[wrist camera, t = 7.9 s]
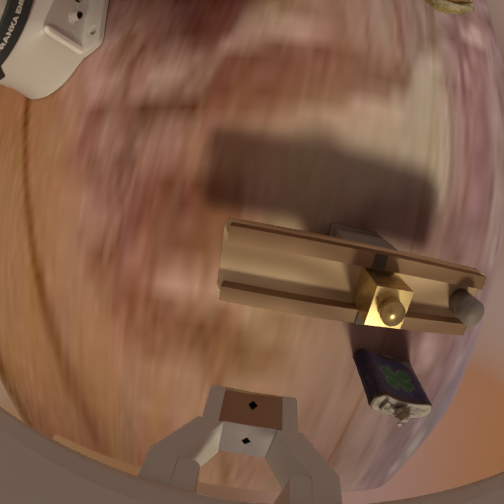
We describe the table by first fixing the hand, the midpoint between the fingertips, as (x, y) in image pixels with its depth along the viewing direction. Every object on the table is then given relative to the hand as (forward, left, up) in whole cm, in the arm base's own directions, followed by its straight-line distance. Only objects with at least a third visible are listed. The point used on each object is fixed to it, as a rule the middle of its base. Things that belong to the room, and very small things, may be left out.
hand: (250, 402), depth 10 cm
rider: (0, +9, -14) cm, 17 cm away
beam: (0, +8, -23) cm, 24 cm away
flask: (+13, +17, -23) cm, 31 cm away
